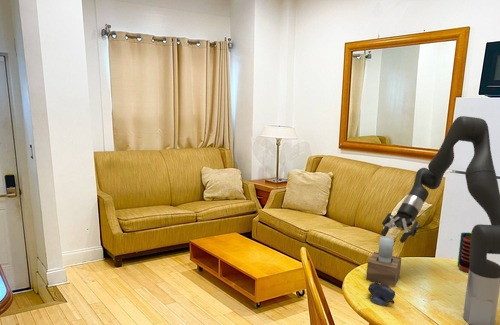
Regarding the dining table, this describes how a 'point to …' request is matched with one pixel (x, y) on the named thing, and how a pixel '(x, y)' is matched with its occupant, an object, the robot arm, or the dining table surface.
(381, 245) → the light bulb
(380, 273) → the housing
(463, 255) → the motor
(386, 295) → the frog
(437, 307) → the dining table surface
